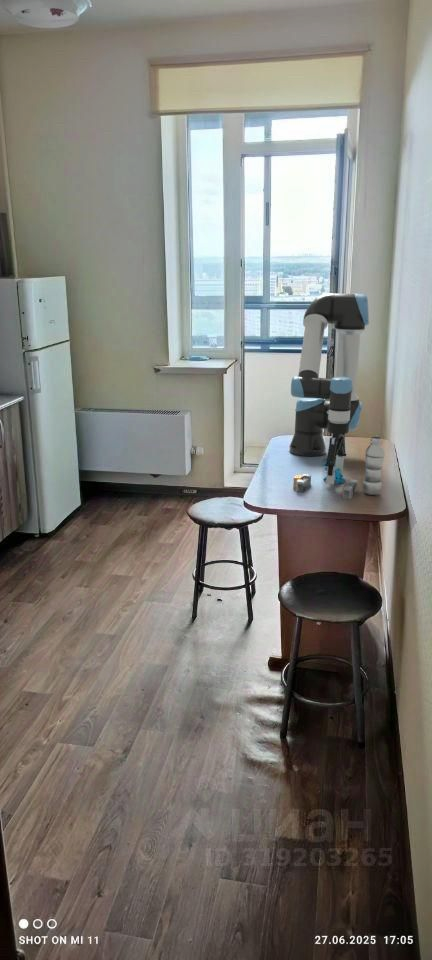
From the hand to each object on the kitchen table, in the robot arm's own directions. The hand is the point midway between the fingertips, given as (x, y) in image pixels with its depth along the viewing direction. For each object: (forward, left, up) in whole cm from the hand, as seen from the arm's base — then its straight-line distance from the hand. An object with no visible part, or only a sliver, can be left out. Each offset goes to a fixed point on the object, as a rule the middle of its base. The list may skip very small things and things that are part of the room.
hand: (334, 478), depth 247 cm
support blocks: (+12, 0, -1) cm, 12 cm away
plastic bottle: (+8, +15, -1) cm, 17 cm away
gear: (0, 0, -2) cm, 2 cm away
